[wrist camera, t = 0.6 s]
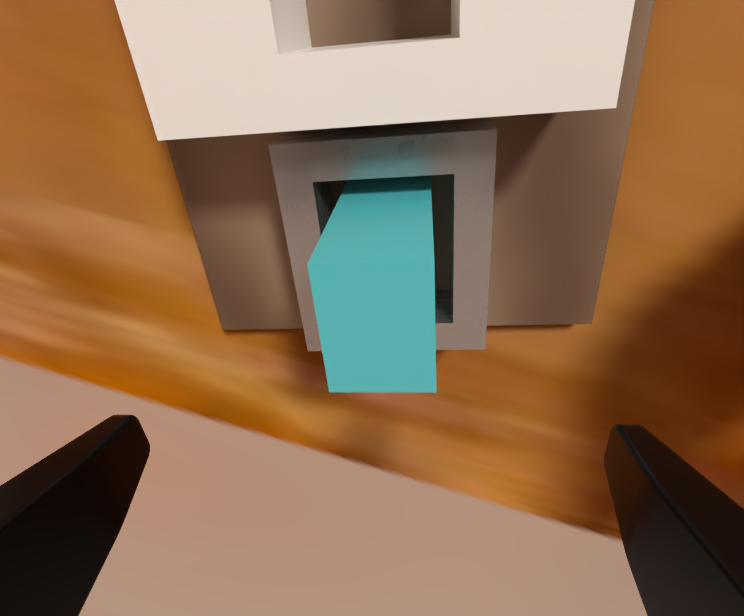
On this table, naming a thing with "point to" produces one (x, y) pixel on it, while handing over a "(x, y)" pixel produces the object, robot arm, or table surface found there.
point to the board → (511, 191)
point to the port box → (368, 65)
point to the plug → (377, 287)
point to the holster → (385, 160)
